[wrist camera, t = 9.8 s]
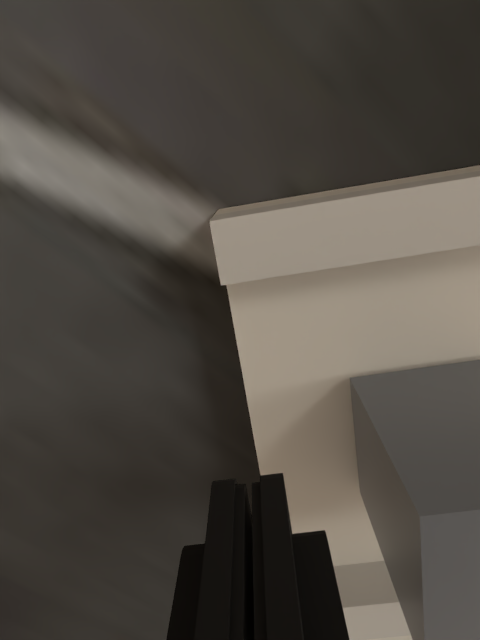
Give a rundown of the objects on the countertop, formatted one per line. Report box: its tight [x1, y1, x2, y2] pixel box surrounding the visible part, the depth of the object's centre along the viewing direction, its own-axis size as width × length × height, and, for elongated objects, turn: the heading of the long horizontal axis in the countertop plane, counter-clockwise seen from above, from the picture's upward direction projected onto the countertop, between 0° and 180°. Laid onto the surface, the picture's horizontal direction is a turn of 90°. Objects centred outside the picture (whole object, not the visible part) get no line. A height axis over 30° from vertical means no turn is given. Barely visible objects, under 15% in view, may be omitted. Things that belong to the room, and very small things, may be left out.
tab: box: [350, 360, 480, 640], centre depth 10 cm, size 4×4×5 cm
